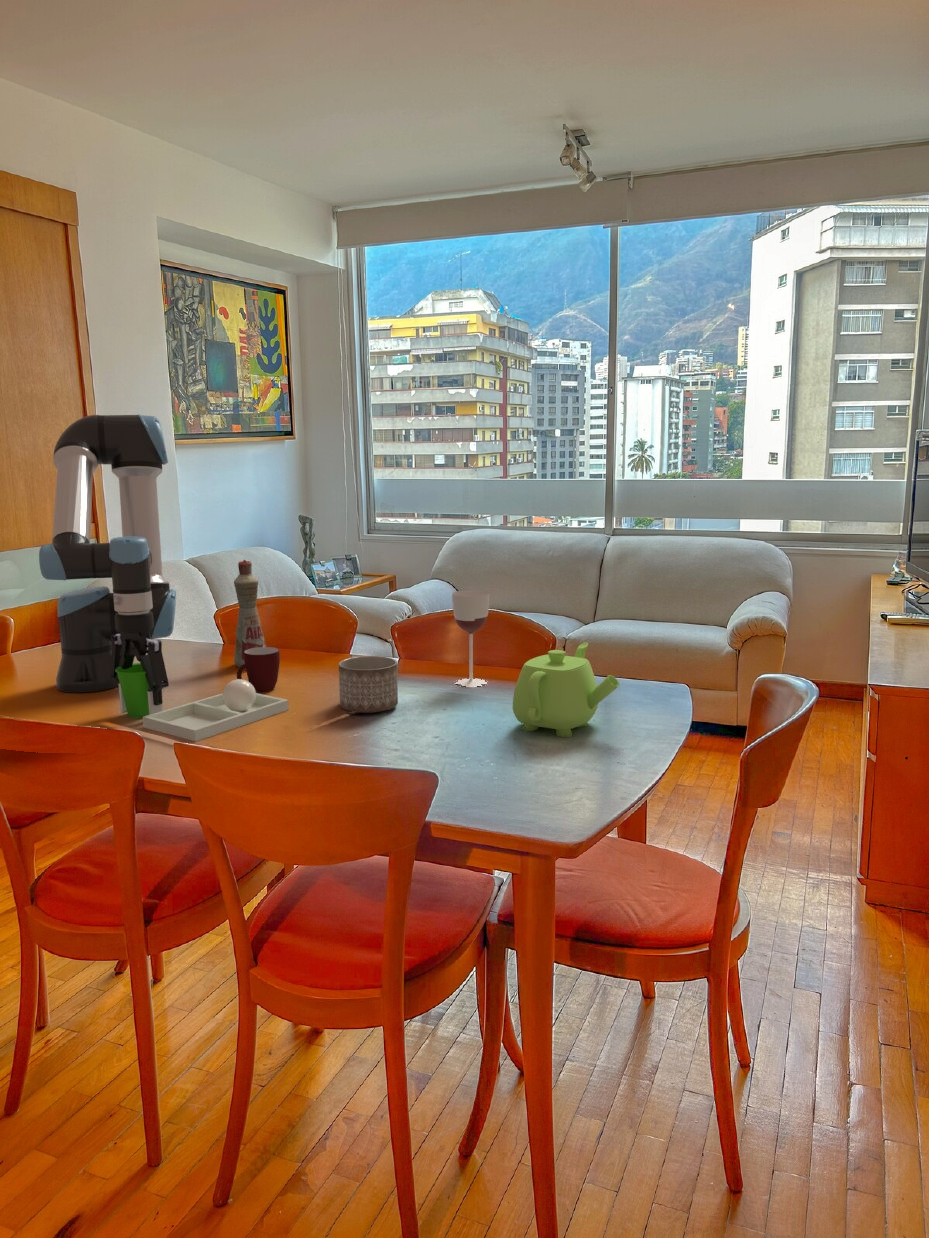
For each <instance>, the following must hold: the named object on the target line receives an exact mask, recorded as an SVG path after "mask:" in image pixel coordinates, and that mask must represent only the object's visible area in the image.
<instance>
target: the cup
mask: <svg viewBox="0 0 929 1238" xmlns="http://www.w3.org/2000/svg"><path fill="white" fill-rule="evenodd" d="M115 672H117V674H118V678H119V682H120V686H121V690H122V694H123V698H124V702H125V706H126V709H127V712H126V713H127V717H128V718H131V719H143V717H144V716H147V715H149V704H148V689H150V687H149V684H148V682H147V679H146V676H145V673H146V672H144V671H143V668H142V666H141V663H140V662H133V665H132V667H131V668H128V669H122V667H121V666H120V667H117V668H116V670H115ZM154 684H155V683H154Z"/></svg>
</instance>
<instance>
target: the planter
mask: <svg viewBox="0 0 929 1238" xmlns="http://www.w3.org/2000/svg"><path fill="white" fill-rule="evenodd" d="M338 683H339V684H338V685H339V686H338V687H339V690H338V691H339V706H340V708H342V709H343V710H345V711H349V712H352V713H353V712H355V713H362V714H373V713H374V714H375V713H379V712H385V711H389V710H392V709H393V708H395V707H397V705H398V703H399V697H398V696H399V693H398V684H399V683H398V661H397V660H396V659H394V658H392V657H388V656H381V655H361V656H354V657H353V656H352V657H349V658H345V659H342V660H341V661H339V662H338Z"/></svg>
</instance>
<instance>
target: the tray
mask: <svg viewBox="0 0 929 1238" xmlns="http://www.w3.org/2000/svg"><path fill="white" fill-rule="evenodd" d="M222 694H223V692H222V693H218V694H216V695H212V696H209V697H208V696H207V697H205V698H202V699H198V700H195V701H191V702H188V703H185V704H182V705H181V704H180V705H178V706H175V707H172V708H168V709H164V710H162V711H161V712H157V713H154V714H150V715H147V716H144V717H143V718H142V724H143V725H142V727H143V728H144V729H148V730H151V731H156V732H159V733H163V734H166V735H170V736H174V737H177V738H181V739H185V740H188V741H193V742H196V743H197V742H199V741H202V740H205V739H208V738H210V737H213V736H216V735H219V734H222V733H225V732H229V731H231V730H235V729H238V728H240V727H243V726H246V725H248V724H251V723H254V722H257V721H260V720H261V721H262V720H264V719H266V718H269V717H273V716H276V715H278V714H281V713H284V712H287V711H289V710H290V709H289V708H290V707H289V699H285V698H281V697H276V696H271V695H267V694H263V693H259V692H256V699H255V702H254V704H253V705H252V706H251V707H250V708H249V709H248V710H246V711H243V712H236V711H232V710H230V709H229V708H228V707H226V705H225V704H224V702H223V698H222Z"/></svg>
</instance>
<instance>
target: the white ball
mask: <svg viewBox="0 0 929 1238" xmlns="http://www.w3.org/2000/svg"><path fill="white" fill-rule="evenodd" d="M222 693H223V694H222ZM222 693H221V694H222V698H223V702H224V704H225V705H226V707H228V708H229V709H230V710H232V711H236V712H243V711H246V710H248V709H249V708H250V707H251V706H252V705H253V704H254V702H255V699H256V693H257V692H256V691H255V688H254V687H253V685H252V684H251V683H250V682H249V681H248V680H246V679H243V678H242V679H237V678H236V679H233V680H231V681H229V682H228V683H227V684H226V685H225V686H224V688H223V690H222Z"/></svg>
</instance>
